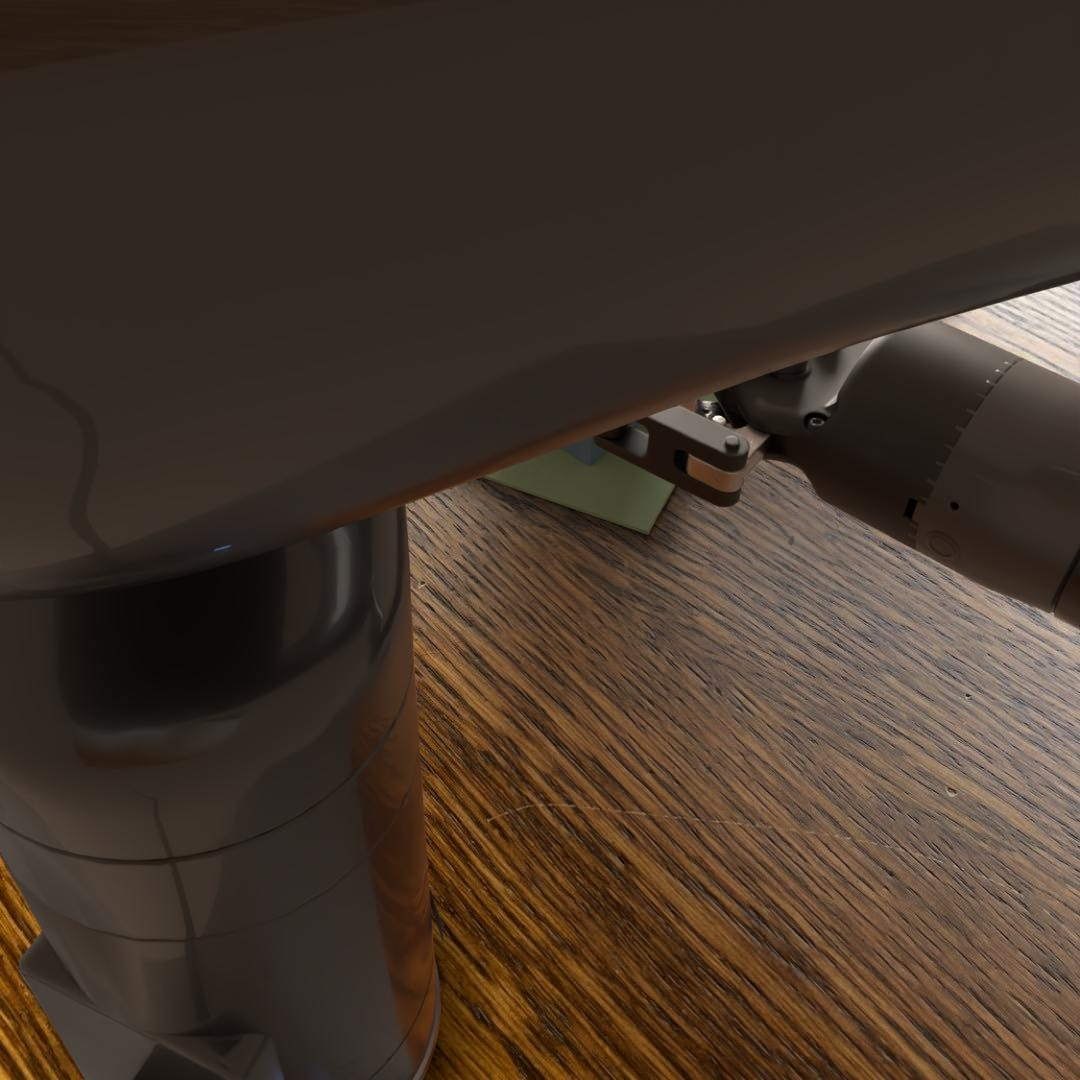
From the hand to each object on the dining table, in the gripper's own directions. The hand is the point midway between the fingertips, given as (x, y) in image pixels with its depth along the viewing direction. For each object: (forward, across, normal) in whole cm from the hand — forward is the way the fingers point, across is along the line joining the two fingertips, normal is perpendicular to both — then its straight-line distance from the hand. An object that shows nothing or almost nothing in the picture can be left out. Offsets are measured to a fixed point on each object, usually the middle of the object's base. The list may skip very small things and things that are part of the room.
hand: (610, 279), depth 51 cm
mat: (+1, 0, +8) cm, 8 cm away
